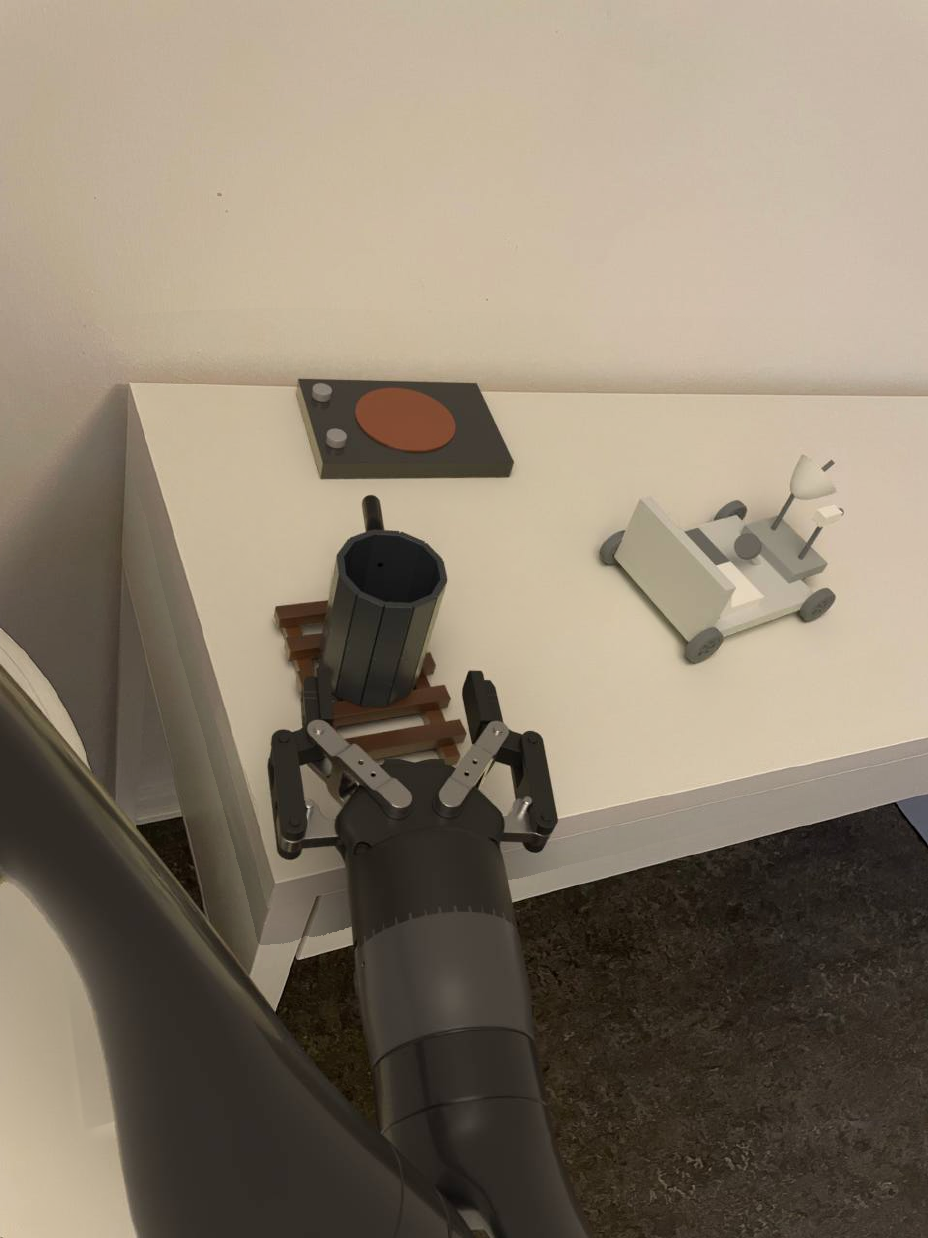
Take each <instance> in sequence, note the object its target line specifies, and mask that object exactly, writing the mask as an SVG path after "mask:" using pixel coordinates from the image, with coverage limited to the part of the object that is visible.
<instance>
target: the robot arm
mask: <svg viewBox="0 0 928 1238" xmlns="http://www.w3.org/2000/svg"><path fill="white" fill-rule="evenodd" d="M314 668H315V672H314V676H306V679H305V681H304V683H303V688H302V694H301V695H300V698H299V699H300V713H301V715H300V716H301V727H300V728H299V729H298V730H294V731H291V730H289V729H284V728H283V729H278V730H276V731H275V732H273V734H272V735H271V739H270V753H269V757H268V759H267V767H266V768H267V776H268V784H269V785H268V786H269V793H270V801H271V810H272V820H273V827H274V835H275V845H276V852H277V854H278V855H279V857H280V858H282V859H284V860H288V861H292V860H293V861H294V860H296V859H297V858H299V857H300V856H301V854H302V852H303V850H304V849H315V848H316V849H317V848H330V847H334V848H335V849H336V851H337V852H338V853H339V854H340V856H341V858H342V860H343V862H344V866H345V873H346V883H347V884H346V885H347V893H348V894H347V895H348V904H349V906H348V907H349V915H350V925H351V936H352V946H353V947H352V949H353V957H354V959H353V960H354V973H353V983H354V985H353V986H354V991H355V996H356V998H357V1001H358V1008H359V1009H358V1010H359V1018H360V1024H361V1029H362V1033H363V1038H364V1042H365V1046H366V1051H367V1054H368V1055H367V1056H368V1059H369V1065H370V1071H371V1079H372V1088H373V1089H372V1090H373V1099H374V1100H373V1101H374V1109H375V1119H376V1127H375V1125H374V1124H372V1122H371V1121H370V1120H368V1119H367V1118H366V1116H364V1115H363V1114H362V1113H361V1112H360V1111H359V1110H358V1109H357V1108H356V1107H355V1106H354V1105H353V1104H352V1103H351V1102H350V1100H349V1099H347V1097H346V1096H345V1095H344V1094H343V1092H341V1091H340V1090H339V1089H338V1087H336V1085H335V1084H334V1083H333V1082H332V1081H331V1080H330V1079H329V1077H328V1076H326V1075H325V1073H323V1071H322V1069H320V1067H318V1066H319V1065H317V1063H315V1061H314V1060H313V1059H312V1057H311V1056H310V1055H309V1054H308V1053H307V1052H306V1050H305V1048H303V1046H302V1045H301V1044H300V1043H299V1042H298V1041H297V1039H296V1038H295V1036H294V1034H292V1032H291V1031H290V1029H289V1028H288V1027H287V1026H286V1025H285V1023H284V1021H283V1020H282V1019H281V1018H280V1016H279V1015H278V1013H276V1011H275V1010H274V1008H273V1007H272V1005H271V1004H270V1003H269V1001H268V1000H267V999H266V997H265V996H264V994H263V993H262V992H261V990H260V988H259V987H258V986H257V984H256V983H255V982H254V980H253V979H252V978H251V976H250V975H249V973H248V972H247V970H246V969H245V968H244V966H243V964H241V962H240V961H239V960H238V958H237V956H236V955H235V954H234V952H233V951H232V949H231V948H230V947H229V946H228V944H227V942H226V941H225V940H224V939H223V937H222V936H221V935H220V933H219V932H218V931H217V929H216V928H215V927H214V925H213V924H212V923H211V922H210V920H209V919H208V918H207V915H205V913H204V912H203V911H202V910H201V908H200V907H199V906H198V905H197V903H196V902H195V900H194V899H193V898H192V897H191V895H190V894H189V893H188V892H187V890H186V889H185V888H184V886H183V885H182V883H181V882H179V880H178V878H177V877H176V876H175V875H174V873H172V871H171V870H170V868H169V867H168V866H167V864H166V863H165V862H164V861H163V860H162V858H161V857H160V856H159V855H158V853H157V851H155V850H154V848H153V847H152V846H151V844H150V843H149V842H148V840H147V839H146V838H145V836H143V834H142V833H141V832H140V830H139V829H138V828H137V827H136V825H135V824H134V823H133V822H132V820H131V819H130V818H129V817H128V815H127V814H126V812H124V810H123V809H122V808H121V806H120V805H119V804H118V802H116V800H115V799H114V798H113V797H112V795H111V794H110V793H109V791H108V790H107V789H106V788H105V786H104V785H103V784H102V783H101V781H100V780H99V779H98V778H97V776H96V775H95V774H94V773H93V772H92V770H91V769H90V768H89V767H88V765H87V764H86V762H84V761H83V759H82V758H81V757H80V755H78V753H77V752H76V750H74V748H73V747H72V746H71V745H70V743H69V742H68V741H67V740H66V738H65V737H64V736H63V735H62V734H61V733H60V731H59V730H58V729H57V728H56V727H55V725H54V724H53V723H52V722H51V720H49V718H48V717H47V715H46V714H45V713H44V712H43V711H42V710H41V709H40V707H39V706H38V704H37V703H36V702H35V701H34V700H33V699H32V697H30V695H29V694H28V693H27V692H26V691H25V690H24V689H23V687H22V686H21V685H20V684H19V682H17V680H16V679H15V678H14V677H13V675H11V674H10V672H9V671H8V670H7V669H6V668H5V667H4V666H3V665H2V664H1V663H0V885H2V884H5V883H7V884H11V885H13V886H14V887H16V888H17V889H18V890H20V892H22V893H23V895H24V896H25V897H26V898H27V899H28V900H29V902H30V903H31V904H32V905H33V906H34V907H35V909H36V910H37V912H38V913H39V914H40V915H41V916H42V917H43V919H44V920H45V921H46V923H47V924H48V925H49V927H50V928H51V929H52V930H53V932H54V933H55V935H56V937H57V939H58V940H59V941H60V943H61V945H62V946H63V948H64V950H65V951H66V952H67V955H68V956H69V959H70V961H71V962H72V965H73V966H74V968H75V970H76V973H77V974H78V977H79V979H80V981H81V983H82V986H83V987H82V988H83V989H84V992H85V995H86V997H87V1001H88V1003H89V1006H90V1008H91V1013H92V1016H93V1020H94V1024H95V1028H96V1029H95V1030H96V1033H97V1037H98V1040H99V1045H100V1049H101V1053H102V1058H103V1061H104V1062H103V1063H104V1067H105V1073H106V1078H107V1084H108V1090H109V1096H110V1102H111V1108H112V1117H113V1124H114V1129H115V1137H116V1145H117V1152H118V1159H119V1164H120V1169H121V1173H122V1179H123V1184H124V1189H125V1195H126V1201H127V1205H128V1210H129V1211H128V1212H129V1216H130V1220H131V1223H132V1227H133V1231H134V1233H135V1237H136V1238H476V1236H475V1235H474V1233H473V1231H480V1230H481V1231H483V1230H484V1231H485V1232H486V1234H487V1235H488V1236H489V1238H595V1236H594V1233H593V1231H592V1229H591V1226H590V1224H589V1221H588V1219H587V1217H586V1215H585V1212H584V1210H583V1207H582V1205H581V1203H580V1200H579V1198H578V1195H577V1193H576V1191H575V1188H574V1185H573V1183H572V1181H571V1178H570V1175H569V1173H568V1171H567V1167H566V1166H565V1163H564V1159H563V1158H562V1157H563V1156H562V1155H561V1152H560V1148H559V1146H558V1143H557V1139H556V1136H555V1135H556V1134H555V1132H554V1128H553V1127H554V1126H553V1123H552V1118H551V1114H550V1113H551V1112H550V1107H549V1103H548V1102H549V1101H548V1098H547V1093H546V1087H545V1084H544V1083H545V1082H544V1077H543V1073H542V1068H541V1063H540V1057H539V1052H538V1048H537V1045H536V1038H535V1030H534V1019H533V1005H532V992H531V986H530V979H529V975H528V970H527V965H526V961H525V956H524V952H523V946H522V941H521V937H520V932H519V927H518V923H517V918H516V913H515V912H516V911H515V907H514V901H513V899H512V898H513V897H512V893H511V888H510V883H509V878H508V874H507V868H506V864H505V860H504V859H505V858H504V854H503V853H502V850H501V843H522V846H523V848H524V849H525V850H526V851H528V852H529V853H534V854H538V853H541V852H542V851H543V850H544V849H545V847H546V845H547V843H548V841H549V839H550V837H551V835H552V834H553V832H554V830H555V828H556V826H557V824H558V822H559V817H558V812H557V806H556V800H555V796H554V795H555V794H554V791H553V786H552V779H551V776H550V775H551V774H550V768H549V764H548V758H547V753H546V748H545V743H544V742H545V741H544V737H542V735H541V734H540V733H539V732H537V731H534V730H526V731H525V732H523V733H519V732H516V731H514V730H511V729H509V727H508V725H507V724H505V722H504V718H503V715H502V710H501V706H500V701H499V697H498V692H497V688H496V686H495V684H494V683H493V681H492V680H491V679H485V675H484V672H483V671H482V670H470V669H469V670H468V671H467V674H466V676H465V679H464V681H463V685H462V688H461V689H462V690H461V697H462V698H461V699H462V702H463V708H464V712H465V718H466V723H467V728H468V732H469V737H470V743H471V745H470V747H469V749H468V751H467V752H466V753H465V755H464V756H463V758H462V759H461V761H460V762H459V763H458V765H457V766H456V767H455V766H453V765H448V764H445V763H444V759H439V758H428V759H423V760H419V761H411V760H405V759H401V758H383V761H382V763H380V764H378V763H377V762H376V761H375V759H372V758H371V757H370V756H369V755H368V754H367V753H366V752H364V751H363V750H362V749H361V748H360V747H359V746H358V745H357V744H349V743H348V742H347V741H346V740H345V739H346V738H345V737H343V736H342V735H341V734H339V732H338V731H337V732H336V731H335V730H334V729H333V728H332V726H333V722H334V712H333V702H334V701H333V693H332V691H331V681H330V670H329V667H319V666H314ZM497 763H498V764H501V765H505V766H509V767H510V773H511V779H512V786H513V793H514V799H515V800H514V801H513V802H512V806H511V807H510V809H509V812H508V814H507V815H503V813H502V811H501V810H500V809H499V808H498V807H497V806H496V805H495V804H494V803H493V802H492V801H491V800H490V799H489V798H488V797H487V796H486V795H485V794H484V793H483V792H482V791H481V790H480V789H482V786H483V784H484V782H485V781H486V779H487V777H489V775H490V773H491V771H492V770H493V768H494V767H495V766H496V764H497ZM305 765H307V767H308V768H309V769H310V770H311V771H312V772H313V773H314V774H315V775H316V776H317V777H318V778H319V779H320V780H321V781H322V782H323V783H324V784H325V786H326V790H327V792H328V794H329V795H330V796H331V797H332V798H333V799H334V800H335V801H336V802H337V804H339V806H340V807H341V809H340V810H339V811H338V813H337V815H336V817H335V819H330V818H327V817H325V816H324V815H323V814H322V812H321V809H320V807H319V806H318V804H316V803H315V801H313V800H312V799H310V798H309V799H308V798H307V799H305V793H304V786H303V785H304V784H303V780H302V773H301V767H302V766H305Z"/></svg>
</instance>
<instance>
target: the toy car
mask: <svg viewBox="0 0 928 1238" xmlns="http://www.w3.org/2000/svg"><path fill="white" fill-rule="evenodd" d="M835 464H836V463H835V461H834V460H833V459H830V460H829V461H828V462H827V463H826V464H824V465H823V466H822V467H820V466H819V465H818V464H817V463H816V462H815V460H813V459H812V458H811V457H809V456H808V455H806V454H801V455H800V457H799V459H798V461H797V463H796V465H795V466H794V469H793V471H792V473H791V474H792V475H791V477H790V482H789V492H790V495H789V496H788V498H787V500H786V502H785V503H784V505H783V506H782V508H781V510H780V511H779V513H778V515H775V516H771V517H768V518H764V519H760V520H756V521H753V522H749V523H745V522H744V520H745V518H746V516H747V513H748V507H747V506H746V505H745V504H744V503H743V502H742V501H741V500H739V499H735V500H732V501H730V502H727V503H726V504H725V505H724V506H722V507H721V508H720V509H719V510H718V511H717V513H716V515H715V516H714V518H713V520H712V521H708V522H706V523H701V524H697V525H694V526H691V527H687V528H684V529H682V528H681V527H680V526H679V525H678V524H677V523H676V521H674V519H673V518H672V517H671V516H670V515H669V514H668V513H667V512H666V511H665V510H664V509H663V508H662V507H661V506H660V504H658V502H656V500H655V499H654V498H652V496H651V495H648V496H644V497H640V498H639V500H638V502H637V504H636V506H635V508H634V510H633V513H632V515H631V517H630V520H629V522H628V524H627V527H626V528H625V529H623V530H622V529H621V530H619V531H616V532H615V533H613V534H611V535H610V536H609V537H607V539H606V540H605V541H604V542H603V544H602V545H601V547H600V549H599V557H600V558H601V560H602V561H603V562H604V563H605V564H606V565H608V566H613V565H617V564H619V565H620V566H621V567H622V568H623V569H624V571H625V572H627V574H628V575H629V576H630V577H631V578H632V580H633V581H634V582H635V583H636V584H637V586H639V588H640V589H641V590H642V591H643V593H645V594H646V596H647V597H648V598H649V599H650V600H651V602H653V604H654V605H655V606H656V607H657V608H658V609H659V610H660V612H661V613H662V614H663V615H664V616H665V617H666V619H667V620H668V621H669V622H670V623H671V624H672V625H673V626H674V628H675V629H676V630H677V631H678V633H680V634H681V635H682V637H683V638H684V640H685V641H687V642H688V643H687V645H686V646H685V648H684V655H685V657H686V658H687V659H688V660H689V662H691V663H692V664H698V663H702V662H703V661H705V660H707V659H709V658H710V657H712V656H713V655H714V654H715V653H716V652H717V651H718V650H719V649H720V648H721V646H722V645H723V642H724V639H725V638H726V637H728V636H730V635H733V634H737V633H739V632H742V631H745V630H748V629H750V628H753V627H756V626H760V625H761V624H765V623H767V622H770V621H773V620H775V619H778V618H782V617H784V616H788V615H789V614H793V613H795V612H798V615H799V616H800V617H801V618H802V619H803V620H804V621H805V622H813V621H815V620H817V619H819V618H820V617H822V616H823V615H824V614H825V613H827V612H828V611H829V610H830V608H832V606H833V605H834V603H835V601H836V598H837V597H836V596H837V595H836V594H835V593H834V592H833V591H832V589H830V588H829V587H822V588H820V589H818V590H816V591H815V592H814V591H813V590H812V589H811V588H810V587H809V586H808V585H807V584H806V583H805V582H804V581H803V580H804V579H807V578H811V577H813V576H816V575H819V574H822V573H824V571H825V570H826V568H827V566H828V565H829V563H828V562H827V561H826V560H825V559H824V558H823V556H821V554H819V553H818V552H817V551H816V550H815V549H814V548H813V547H812V545H813V544H814V542H815V541H816V539H817V537H818V536H819V535H820V533H821V531H822V530H823V528H824V527H827V526H830V525H833V524H836V523H838V522H839V520H840V518H841V517H842V516H843V515H844V513H845V512H844V509H843V508H842V507H839V508H838V506H837V505H836V504H831V505H827V506H824V507H820V508H817V509H816V510H815V512H814V513H813V515H812V516H811V518H810V520H811V521H812V522H813V523H814V524H815V525H816V528H815V529H814V531H813V533H812V534H811V535H810V538H809V539H808V540H807V541H806V540H805V539H804V538H803V537H802V536H800V535H799V533H797V532H796V531H795V530H794V528H792V527H791V526H790V525H789V524H788V523H787V522H786V521H785V520H784V519H783V518H784V517H785V515H786V513H787V511H788V510H789V508H790V506H791V505H792V503H793V501H794V499H797V500H802V501H806V500H807V501H808V500H809V501H810V500H815V499H820V498H824V497H827V496H831V495H833V494H836V493H837V492H838V491H837V488H836V485H835V484H834V483H833V481H832V480H831V478H830V477H829V476H828V475H827V473H826V472H827V471H828V470H829V469H830V468H831V467H833V466H835Z"/></svg>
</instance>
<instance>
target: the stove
mask: <svg viewBox="0 0 928 1238" xmlns="http://www.w3.org/2000/svg"><path fill="white" fill-rule="evenodd" d="M295 395H296V399H297V402H298V406H299V409H300V412H301V417H302V419H303V423H304V426H305V430H306V433H307V437H308V441H309V444H310V447H311V451H312V455H313V459H314V461H315V465H316V468H317V471H318V476H319V479H321V480H331V479H333V480H334V479H336V480H337V479H339V480H342V479H344V480H345V479H428V478H429V479H435V478H436V479H437V478H439V479H440V478H441V479H443V478H445V479H446V478H448V479H449V478H451V479H452V478H510V477H511V475H512V470H513V467H514V464H515V461H514V459H513V456H512V454H511V452H510V450H509V448H508V446H507V444H506V442H505V440H504V437H503V435H502V434H501V431H500V429H499V427H498V424H497V423H496V420H495V418H494V416H493V414H492V412H491V410H490V408H489V406H488V404H487V402H486V399H485V397H484V396H483V393H482V391H481V389H480V387H479V385H478V382H456V381H455V382H453V381H450V382H447V381H411V380H410V381H409V380H372V379H371V380H370V379H336V378H335V379H334V378H333V379H331V378H328V379H327V378H297V384H296V391H295Z"/></svg>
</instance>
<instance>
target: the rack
mask: <svg viewBox="0 0 928 1238" xmlns="http://www.w3.org/2000/svg"><path fill="white" fill-rule="evenodd" d="M327 605H328V599H326V600H317V601H309V602H300V603H291V604H282V605H275V606H274V614H273V617H274V620H275V623H276V626H277V628H278V629H279V630H281V632H282V636H283V639H284V647H283V648H284V651H285V654H286V656H287V659H288V662H292V666H293V668H294V672H295V674H296V677H295V683H296V686H297V690H298V692H299V695H300V696H301V694H302V688H303V683H304V681H305V679H306V676H314V672H315V665H314V662H313V660H312V659H315V658H318V653H319V648H320V642H321V637H322V632H318V633H309V634H303V631H302V628H301V627H303V626H311V625H319V624H324V621H325V615H326V610H327ZM436 667H437V664H436V662H435V660H434V656H433V655H432V653H431V651H426V655H425V658H424V662H423V665H422V668H421V672H420V675H419V678H418V681H417V682H416V684H415V686H414V688H413V690H412V691H411V693H410V695H409V696H408V697H407V698H405V699H403V700H400V701H398V702H396V703H394V704H392V705H390V706H387V705H386V707H361V705H360V706H357V705H354V704H352V703H350V702H348V701H345V700H339V701H333V712H334V722H333V726H332V728H333V729H334V730H335V731H336V732H337V733H338V730H337V728H336V727H341V726H342V727H343V726H347V725H353V724H360V723H366V722H371V721H377V720H383V719H389V718H395V717H401V716H402V717H403V716H408V715H413V714H419V713H420V716H421V718H422V720H423V723H424V724H423V725H416V726H411V727H405V728H399V729H393V730H387V731H382V732H376V733H375V732H374V733H370V734H365V735H364V734H363V735H359V736H358V735H357V736H351V737H346V738H344V739H345V740H346V741H347V742H348V743H349V744H357V745H358V746H359V747H360V748H361V749H362V750H363V751H364V752H366V753H367V754H368V755H369V756H370V757H371V758H372V759H373V760H377V759H384V758H388V757H394V756H399V755H405V754H410V753H415V752H421V751H426V750H431V749H435V752H436V755H437V757H438V759H444V763H445V764H448V765H451V766H453V765H457V764H459V763H458V762H459V760H460V757H461V752H460V751H459V749H458V746H457V745H459V744H464V742H465V740H466V736H467V732H466V729H465V727H464V725H463V722H462V720H461V719H460V718H457V719H451V720H446V718H445V716H444V714H443V711H442V709H443V710H444V709H448V708H449V706H450V703H451V700H452V698H451V696H450V694H449V691H448V689H447V686H446V685H445V684H440V685H434V686H431V684H430V681H429V680H428V676H433V675H434V673H435V670H436Z"/></svg>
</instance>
